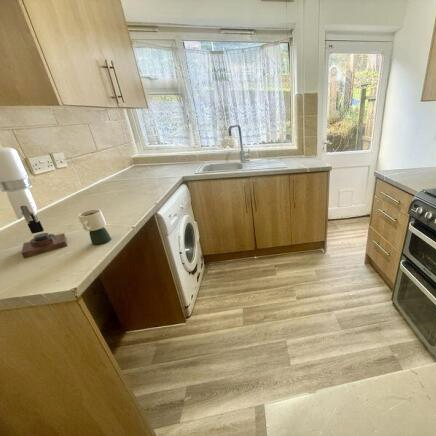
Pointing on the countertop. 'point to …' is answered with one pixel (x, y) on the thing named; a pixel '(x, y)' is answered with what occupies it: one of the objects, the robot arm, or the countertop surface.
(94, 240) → the character mug
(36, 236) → the button
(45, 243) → the button box
